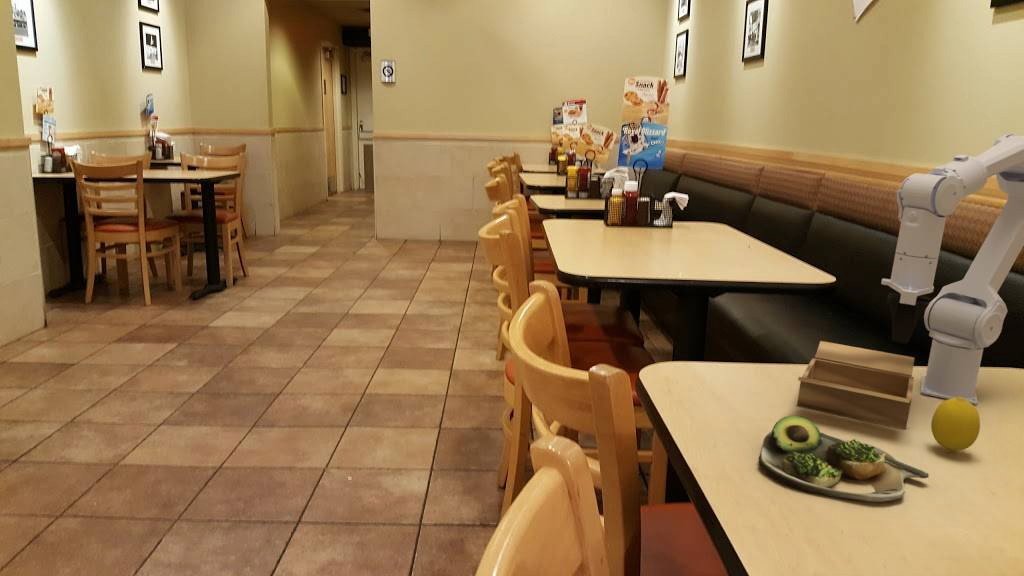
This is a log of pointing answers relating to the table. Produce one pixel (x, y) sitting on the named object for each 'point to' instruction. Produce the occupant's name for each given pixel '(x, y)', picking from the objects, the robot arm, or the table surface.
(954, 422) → the lemon
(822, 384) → the flap front
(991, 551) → the table surface
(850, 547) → the table surface
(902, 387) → the carton
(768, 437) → the avocado toast plate
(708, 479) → the table surface
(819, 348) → the panel
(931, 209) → the robot arm
